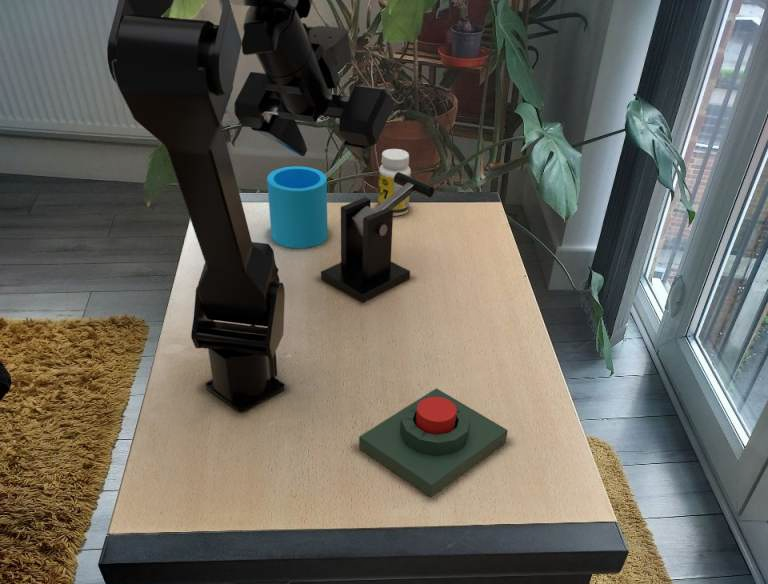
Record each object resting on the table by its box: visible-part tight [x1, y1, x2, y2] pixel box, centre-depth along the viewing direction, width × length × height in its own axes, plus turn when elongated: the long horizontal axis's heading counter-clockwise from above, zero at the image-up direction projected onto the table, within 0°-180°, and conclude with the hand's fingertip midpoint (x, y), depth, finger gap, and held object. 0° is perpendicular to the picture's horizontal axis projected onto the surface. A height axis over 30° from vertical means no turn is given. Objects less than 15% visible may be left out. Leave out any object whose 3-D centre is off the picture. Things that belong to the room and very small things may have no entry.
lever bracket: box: [320, 196, 411, 303], centre depth 102 cm, size 9×8×10 cm
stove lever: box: [352, 172, 435, 237], centre depth 101 cm, size 11×6×2 cm, turn 136°
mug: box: [266, 165, 329, 249], centre depth 112 cm, size 12×8×8 cm
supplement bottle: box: [377, 148, 412, 217], centre depth 118 cm, size 5×5×8 cm
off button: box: [416, 397, 457, 435], centre depth 79 cm, size 4×4×2 cm
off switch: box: [358, 388, 509, 498], centre depth 81 cm, size 12×10×4 cm
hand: (335, 158), depth 98 cm, fingers open, 9 cm apart
